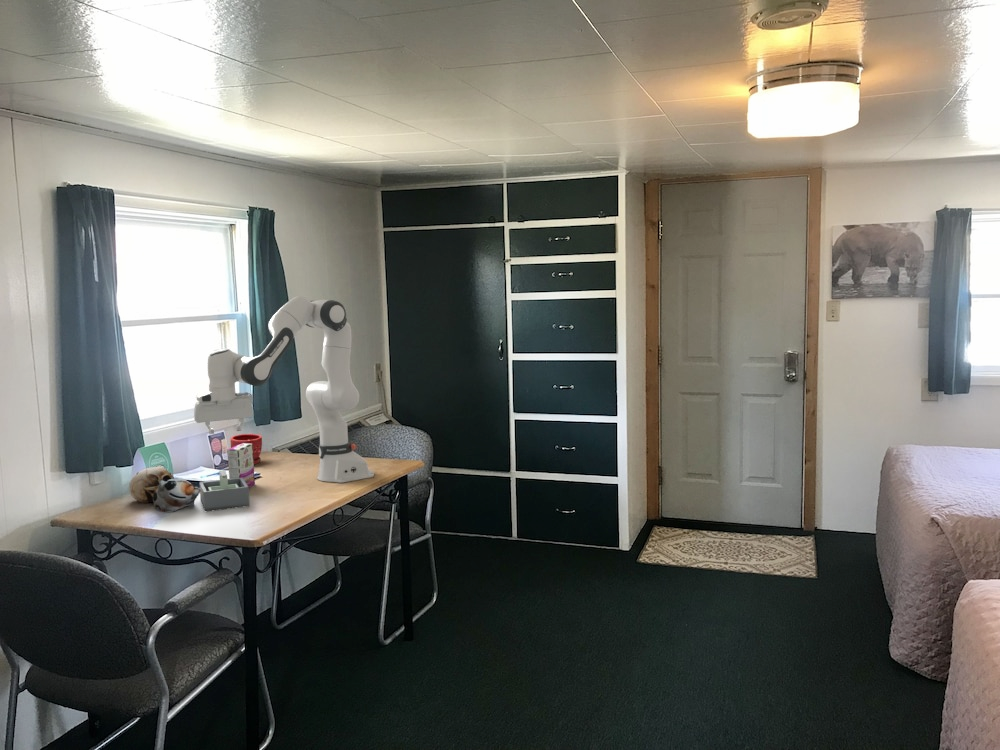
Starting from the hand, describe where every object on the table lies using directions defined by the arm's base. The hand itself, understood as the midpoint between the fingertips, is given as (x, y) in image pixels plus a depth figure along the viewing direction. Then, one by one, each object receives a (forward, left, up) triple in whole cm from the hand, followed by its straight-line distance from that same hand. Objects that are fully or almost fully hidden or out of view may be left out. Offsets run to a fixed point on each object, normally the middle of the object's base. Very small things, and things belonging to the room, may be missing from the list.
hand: (225, 432), depth 297 cm
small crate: (+2, +3, -25) cm, 25 cm away
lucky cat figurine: (+18, +1, -26) cm, 31 cm away
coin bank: (+23, -13, -26) cm, 37 cm away
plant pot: (-15, -58, -26) cm, 65 cm away
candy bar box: (-7, -17, -26) cm, 32 cm away
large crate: (+2, +3, -26) cm, 26 cm away
